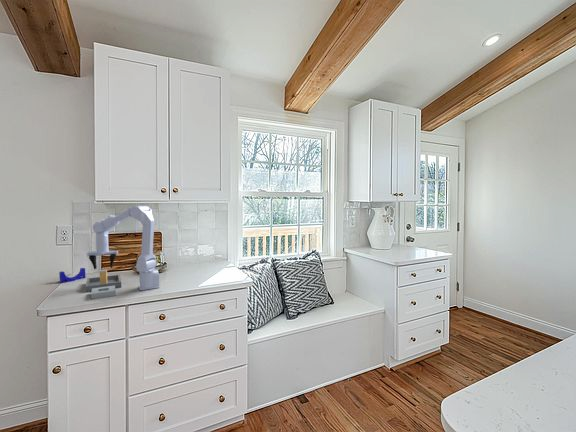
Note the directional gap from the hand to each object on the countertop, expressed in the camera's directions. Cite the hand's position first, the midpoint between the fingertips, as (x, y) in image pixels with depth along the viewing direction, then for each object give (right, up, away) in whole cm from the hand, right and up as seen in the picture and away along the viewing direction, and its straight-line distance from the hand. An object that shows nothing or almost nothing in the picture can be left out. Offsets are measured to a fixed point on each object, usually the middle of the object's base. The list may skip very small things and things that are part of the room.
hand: (103, 268), depth 164 cm
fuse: (0, -9, 0) cm, 9 cm away
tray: (0, -10, +1) cm, 10 cm away
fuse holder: (+9, -11, -15) cm, 20 cm away
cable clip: (-25, -9, +11) cm, 29 cm away
